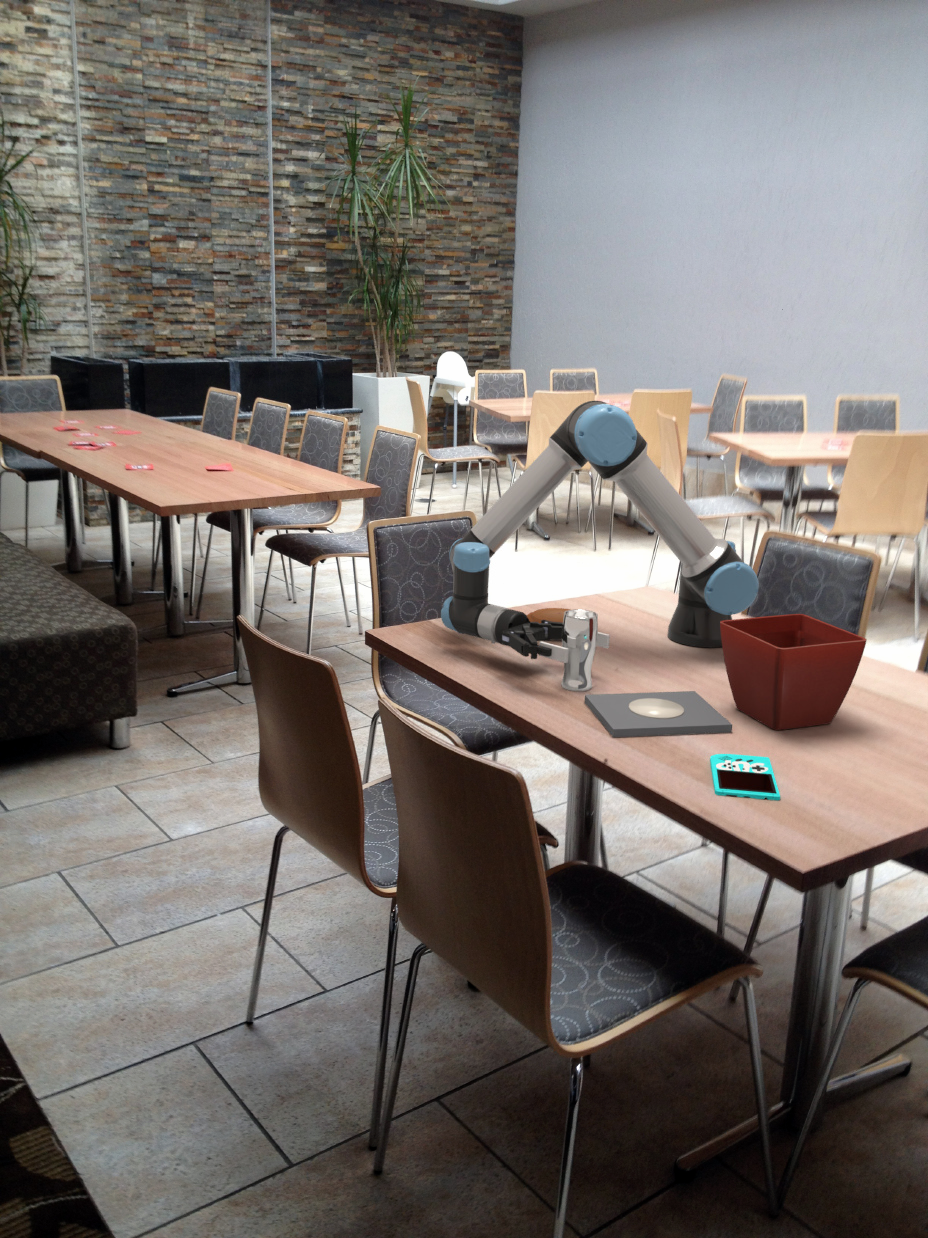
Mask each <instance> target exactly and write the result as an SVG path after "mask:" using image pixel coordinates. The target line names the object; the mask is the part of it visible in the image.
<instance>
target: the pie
mask: <svg viewBox="0 0 928 1238" xmlns="http://www.w3.org/2000/svg"><path fill="white" fill-rule="evenodd" d="M568 610H572V609H571V608H562V607H549V608H547V607H546V608H540V609H536V610H534V611H532V612H529V613H528V614H526V615H527V617H528V619H529V621H530V622H538V623H541V620H548V621H553V622H563V619H564V612H565V611H568ZM545 637H547V634H545ZM550 641H562V639H551V640H550Z"/></svg>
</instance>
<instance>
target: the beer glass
mask: <svg viewBox="0 0 928 1238" xmlns="http://www.w3.org/2000/svg"><path fill="white" fill-rule="evenodd" d="M598 617H599V615H598V613H597V612H596V611H593V610H588V609H583V608H582V609H581V608H579V609H571V610H568V611H565V612H564V619H563V626H562V640H561V647H564V648H568V662H567V663H564V662H563V665H564V666H563V667H564V668H563V675H562V680H561V684H560V685H561V687H562V689H565V690H567V691H569V692H571V691H572V692H586V691H590V690H591V689H592V688H593V682H592V666H593V661H594V657H595V652H596V649H597V646H596V644H597V636H598V632H599V630H598V629H599V628H598V625H599V620H598Z"/></svg>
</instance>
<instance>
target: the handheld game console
mask: <svg viewBox="0 0 928 1238" xmlns="http://www.w3.org/2000/svg"><path fill="white" fill-rule="evenodd" d="M709 764H710V770H711V775H712V776H711V777H712V784H713V790H714V794H715V796H722V797H723V796H725V797H726V796H728V797H733V798H747V799H755V800H756V799H757V800H765V798H766V800H770V801H780V800H781V794H780V790H779V788H778V783H777V780H776V777H775V774H774V769H773V766H772V763H771V759H770V757H768V756H758V755H748V754H746V755H745V754H736V753H717V754H715V753H714V754H713V755H711V756H710V757H709Z"/></svg>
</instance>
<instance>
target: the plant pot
mask: <svg viewBox="0 0 928 1238" xmlns="http://www.w3.org/2000/svg"><path fill="white" fill-rule="evenodd" d="M720 630H721V640H722V653H723V659H724V665H725V670H726V674H727V681H728V683H729V687H730V690H731V695H732V698H733V702H734V704H735V706H736V709H737V710H738V711H740V712H742V713H743V714H745V715H747V716H748V717H750V718H752V719H754V720H756V721H758V722H760V723H761V724H763V725H765V726H767V727H768V728H770V729H772V730H775V731H782V730H789V729H797V728H802V727H803V728H805V727H812V726H821V725H827V724H831V723H832V722H833V720H834V718H835V717H836V715H837V713H838V711H839V710H840V708H841V706H842V704H843V702H844V700H845V698H846V697H847V694H848V693H849V692H850V691H849V690H850V688H851V686H852V684H853V681H854V679H855V676H856V675H857V672H858V669H859V666H860V663H861V661H862V657H863V654H864V651H865V648H866V644H867V640H868V639H867V638H865V637H863V636H860V635H858V634H856V633H853V632H851V631H848V630H846V629H843V628H840V627H837V626H835V625H833V624H830V623H828V622H824V621H822V620H820V619H817V618H814V617H812V616H810V615H807V614H804V613H793V614H782V615H781V614H779V615H769V616H768V615H767V616H759V617H757V616H754V617H747V618H746V617H745V618H737V619H732V620H724V621H720Z"/></svg>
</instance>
